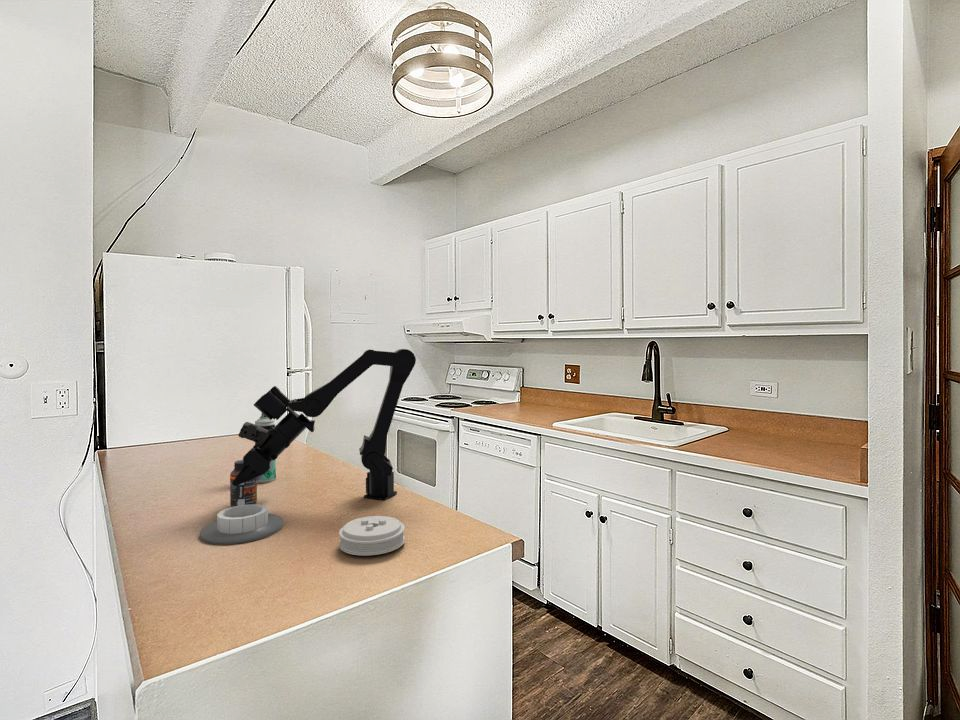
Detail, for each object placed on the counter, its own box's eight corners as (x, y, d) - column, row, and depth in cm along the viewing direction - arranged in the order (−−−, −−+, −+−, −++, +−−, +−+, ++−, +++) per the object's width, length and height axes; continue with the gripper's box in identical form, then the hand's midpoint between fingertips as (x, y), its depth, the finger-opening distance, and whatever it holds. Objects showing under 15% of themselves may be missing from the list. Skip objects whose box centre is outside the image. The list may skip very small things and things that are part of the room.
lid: (350, 534, 106) (349, 511, 106) (409, 535, 106) (409, 511, 106) (330, 560, 94) (329, 533, 94) (398, 560, 93) (397, 534, 93)
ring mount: (298, 521, 114) (298, 504, 114) (242, 549, 99) (242, 528, 99) (243, 513, 119) (243, 497, 119) (182, 538, 104) (182, 519, 104)
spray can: (256, 483, 145) (255, 414, 144) (255, 479, 150) (253, 412, 149) (276, 481, 147) (275, 413, 147) (275, 477, 152) (273, 410, 152)
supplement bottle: (246, 511, 121) (245, 464, 121) (224, 510, 122) (223, 463, 122) (262, 503, 127) (261, 459, 126) (241, 502, 128) (240, 458, 128)
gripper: (265, 406, 134) (220, 450, 131) (253, 416, 116) (200, 467, 113) (297, 434, 136) (254, 478, 133) (290, 448, 118) (239, 499, 115)
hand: (237, 479), depth 124 cm, fingers open, 9 cm apart
